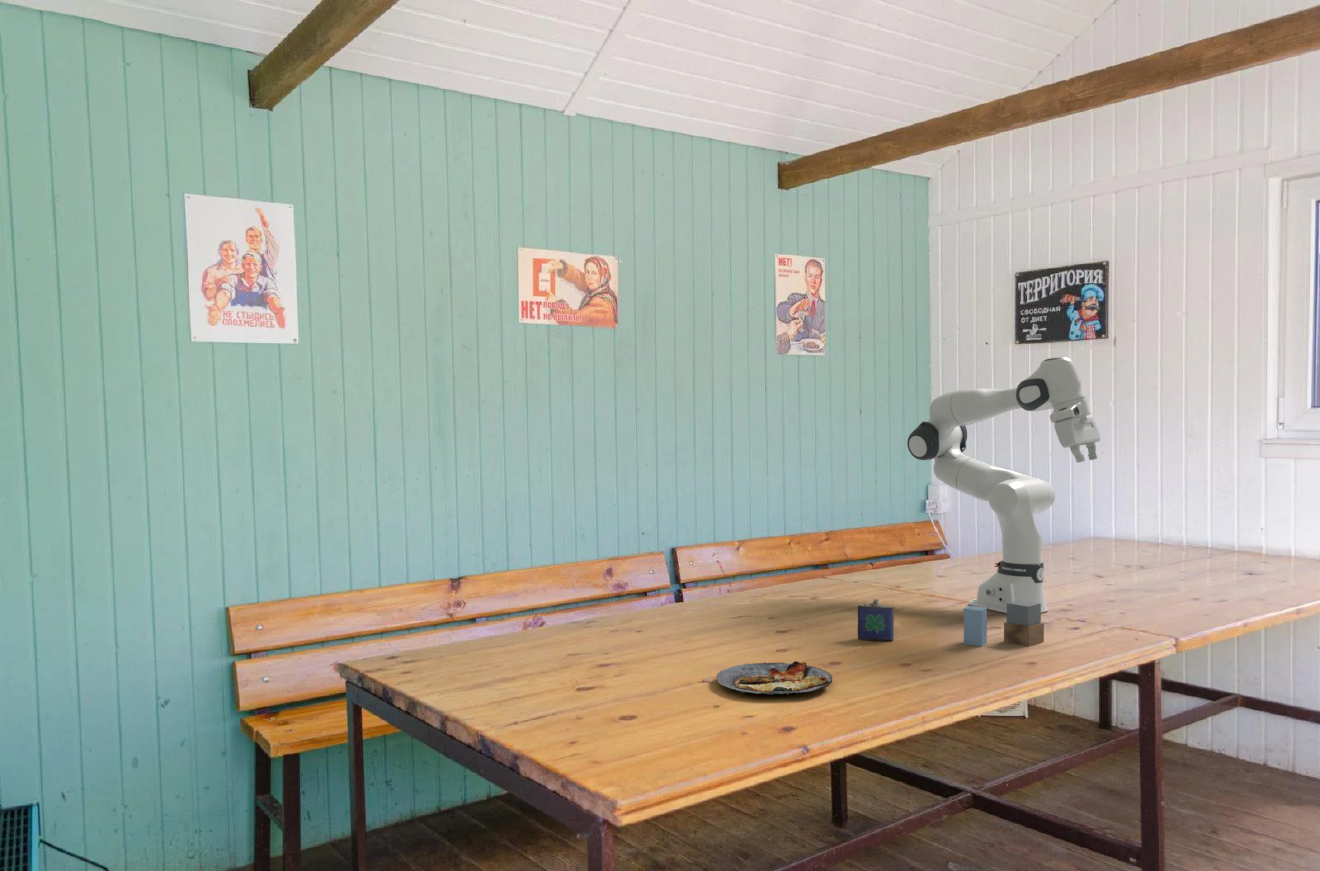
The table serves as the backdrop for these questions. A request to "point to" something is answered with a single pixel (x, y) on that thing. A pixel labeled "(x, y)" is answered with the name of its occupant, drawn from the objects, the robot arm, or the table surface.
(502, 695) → the table surface
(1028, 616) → the tower middle
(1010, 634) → the tower base
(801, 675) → the food plate
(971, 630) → the pillar
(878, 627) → the flask
